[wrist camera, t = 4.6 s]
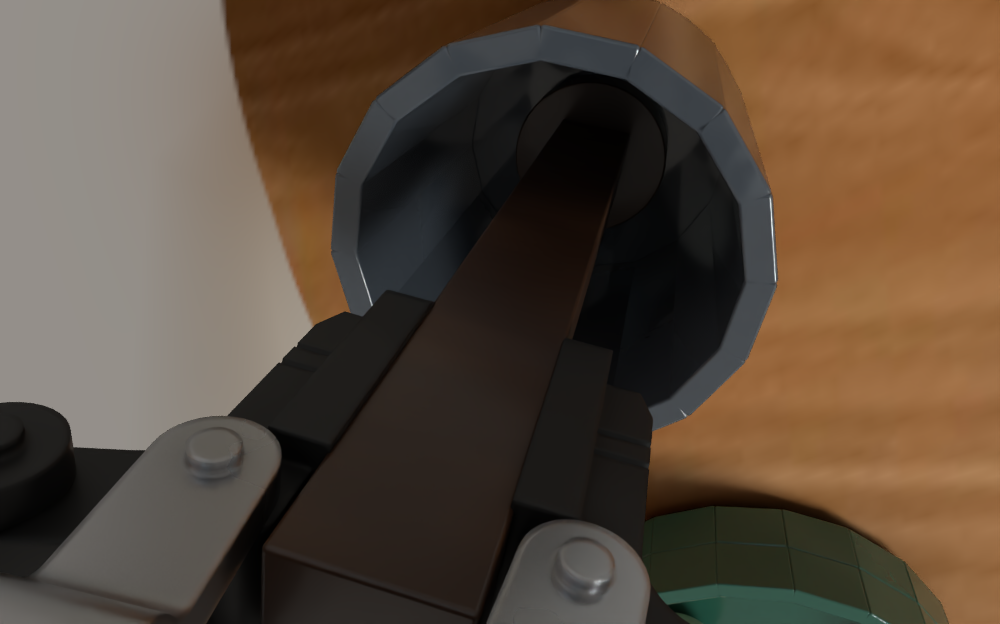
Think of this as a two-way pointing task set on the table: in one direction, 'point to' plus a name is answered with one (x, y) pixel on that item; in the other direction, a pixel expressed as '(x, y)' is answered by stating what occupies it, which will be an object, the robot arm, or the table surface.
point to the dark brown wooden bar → (467, 387)
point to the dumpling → (689, 619)
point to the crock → (625, 247)
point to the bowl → (779, 571)
